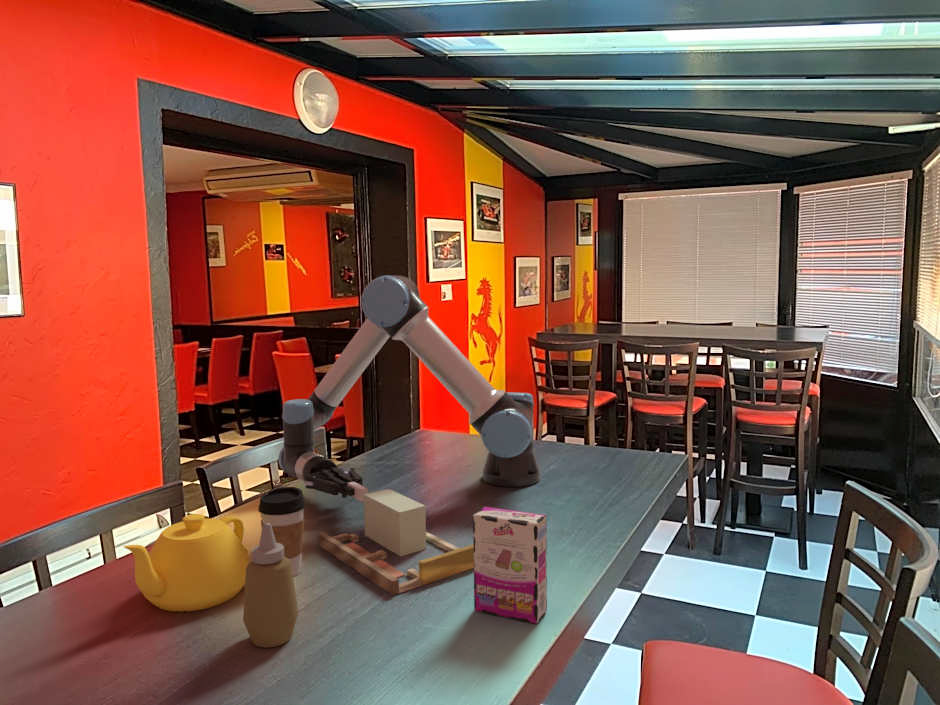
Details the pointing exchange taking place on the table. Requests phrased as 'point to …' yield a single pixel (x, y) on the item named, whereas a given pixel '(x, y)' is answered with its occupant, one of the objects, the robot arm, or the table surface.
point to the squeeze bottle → (269, 593)
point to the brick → (395, 521)
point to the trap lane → (388, 575)
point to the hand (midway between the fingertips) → (365, 495)
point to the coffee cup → (285, 521)
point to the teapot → (193, 564)
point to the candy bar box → (510, 564)
